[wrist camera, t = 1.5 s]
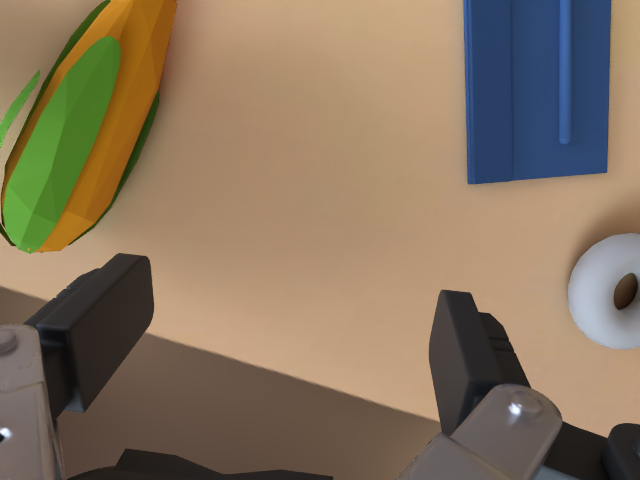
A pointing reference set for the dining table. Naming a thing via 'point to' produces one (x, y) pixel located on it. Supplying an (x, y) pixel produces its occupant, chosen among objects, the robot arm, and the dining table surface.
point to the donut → (606, 292)
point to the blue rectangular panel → (536, 88)
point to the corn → (85, 125)
